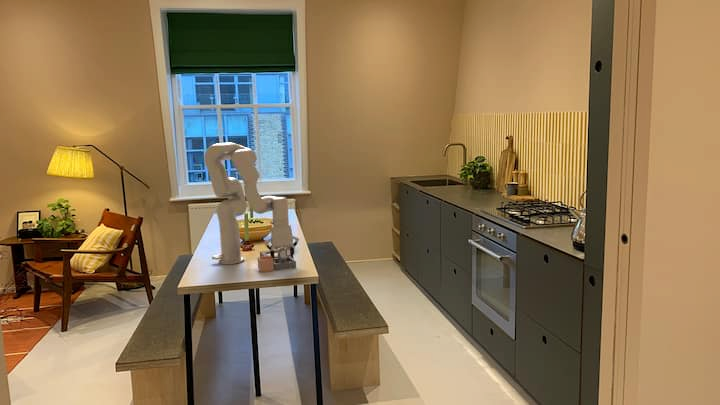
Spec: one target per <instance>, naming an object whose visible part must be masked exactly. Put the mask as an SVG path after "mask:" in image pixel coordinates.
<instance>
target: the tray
mask: <svg viewBox="0 0 720 405" xmlns="http://www.w3.org/2000/svg"><path fill="white" fill-rule="evenodd" d="M273 261H274V270H273V271H279V270H287V269H294V268H295V269H296V268H297V261H296V260H295V258H294V259H292V258H291V257H290V256H289V257H287V262H284V263H278V258H274V259H273Z"/></svg>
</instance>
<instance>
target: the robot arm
mask: <svg viewBox="0 0 720 405" xmlns="http://www.w3.org/2000/svg"><path fill="white" fill-rule="evenodd" d="M257 158H258V157H257V153H256V152H255V151H254V150H253V149H252V148H249V147H246V146H243V145H240V144H237V143H234V142H221V143H220V142H219V143H215V144H212V145H210V146H208V148H207V149H206V150H205V151H204V156H203V159H204V164H205V166H206V169H207V171H208V176H209V179H210V182H211V185H212V189H213V193H214V194H215V197H217V198H220V199H224V200H223V201H220V202H219V204H218V205H217V206H216V215H217V219H218V224H219V236H220V239H219V240H220V252H219V254H217V255H216V254H215V255H212V256H211V258H212V260H215V261H217V260H218V263H219V264H221V265H236V264H239V263H243V262H244V261H245V257H244V256H241V255H242V254H241V252H242V251H241V238H240V227H239V222H238V219H237V217H240V216H243V215H244V214H246V213H247V210H248V204H249V207H250V208H251V210H253V212H254V213H256V214H264V213H268V212H272V220H270V221H269V224H270V225H271V230H270V238H268V239H267V240H266V241H263V242H264V243H263V244H264V246H265V247H266V248H267V249H268V251H270V256H271V257H272V258H273V259H274V258H275V256H274V250H275V249H276V247H281V246H289V245H290V246H289V252H290V255H291V256H293V257H294V255H295V249H296V246H297V245H298V243H299V241H300V238H299V237H297V236H294V235H293V230H292V225H290V224H291V223H290V222H289V221H290V220H289V219H290V218H289V201H288V198H287V197H286V196H273V195H266V196H261V195H260V193H259V192H258V187H257V183H258V181H259V179H260V173H259V172H258V169H257V168H256V166H255V164H256V162H257ZM227 160H229V161H230V160H231V163H232V164H233V166H234V168H235V170H236V171H237V172H238V174H239V177H240V179H241V180H242V182H243V185H244V186H242V183H241V182H240V181H239V179H238V178H236V177H229V175H228V173H227V172H228V171H227V169H226V166H224V163H222V161H227ZM243 188H244V189H243ZM225 198H228V199H226V200H225ZM269 243H271V245H269Z"/></svg>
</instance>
